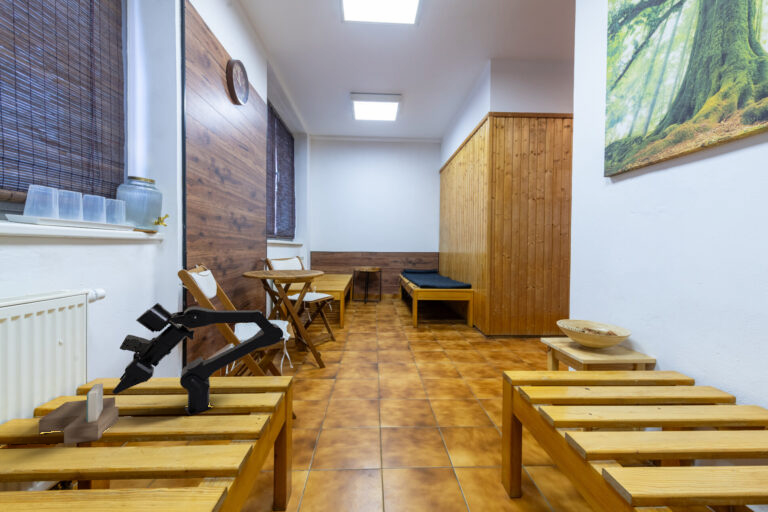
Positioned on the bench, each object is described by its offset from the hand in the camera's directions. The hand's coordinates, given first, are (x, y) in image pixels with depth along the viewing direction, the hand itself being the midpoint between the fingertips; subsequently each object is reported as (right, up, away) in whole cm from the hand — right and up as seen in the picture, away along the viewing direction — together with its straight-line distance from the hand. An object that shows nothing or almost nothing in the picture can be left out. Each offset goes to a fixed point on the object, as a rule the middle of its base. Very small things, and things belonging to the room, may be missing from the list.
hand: (117, 386), depth 85 cm
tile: (-4, -7, -2) cm, 8 cm away
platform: (-9, -11, -1) cm, 14 cm away
